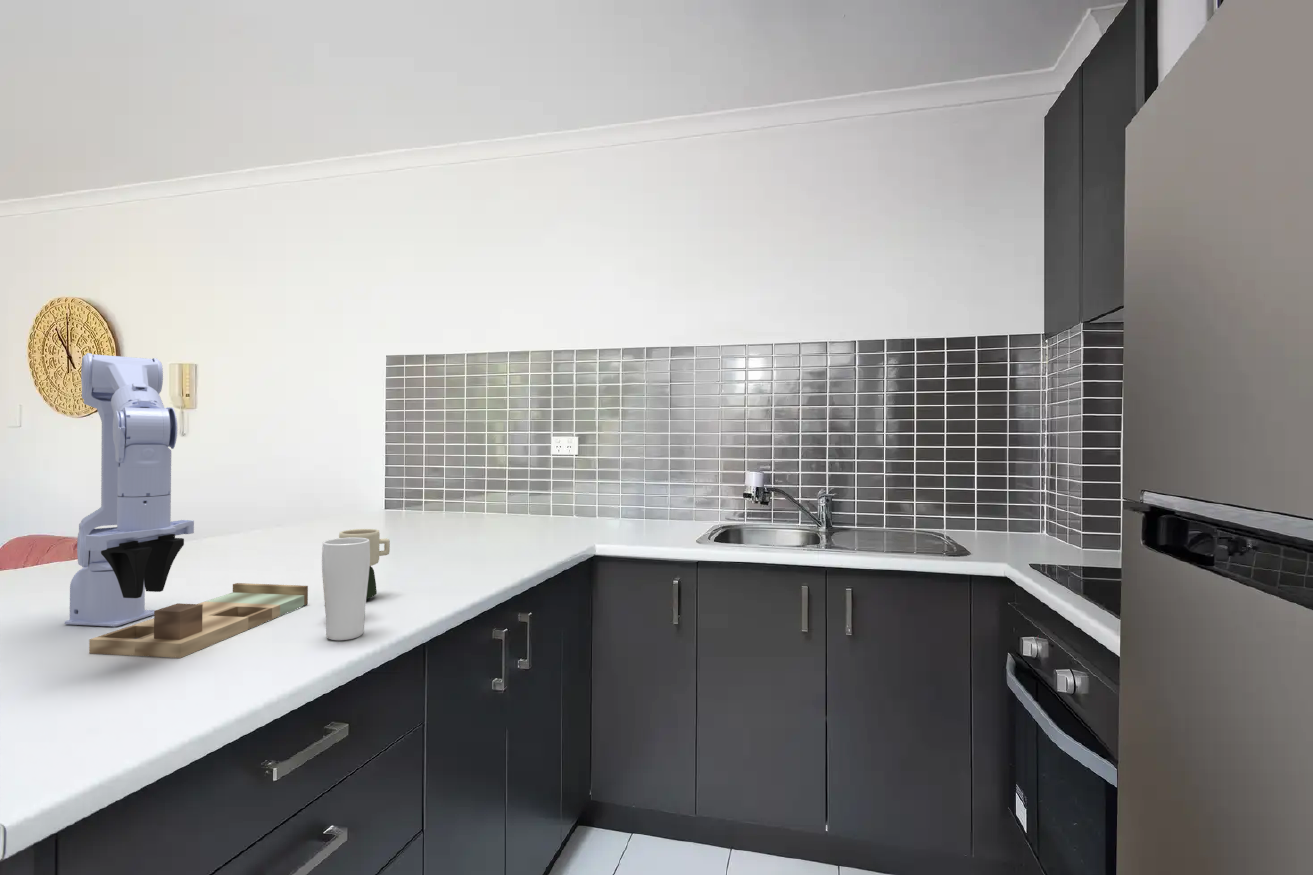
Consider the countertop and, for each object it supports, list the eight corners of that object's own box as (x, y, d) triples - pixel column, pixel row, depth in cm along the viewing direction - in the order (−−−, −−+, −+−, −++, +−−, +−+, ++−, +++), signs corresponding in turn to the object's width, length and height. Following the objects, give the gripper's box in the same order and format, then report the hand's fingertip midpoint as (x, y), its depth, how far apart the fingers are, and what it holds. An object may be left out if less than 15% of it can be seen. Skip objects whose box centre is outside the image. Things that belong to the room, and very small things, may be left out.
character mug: (384, 591, 127) (385, 526, 127) (393, 599, 122) (394, 531, 121) (324, 599, 121) (324, 531, 121) (330, 607, 115) (331, 536, 115)
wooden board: (89, 653, 90) (89, 628, 90) (236, 601, 118) (236, 583, 118) (180, 657, 89) (180, 633, 89) (307, 604, 117) (307, 585, 117)
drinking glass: (378, 632, 101) (379, 538, 101) (345, 645, 95) (346, 545, 95) (345, 627, 104) (346, 536, 104) (310, 640, 97) (311, 542, 97)
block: (153, 638, 91) (154, 610, 91) (177, 630, 95) (177, 603, 95) (179, 639, 91) (180, 611, 91) (202, 631, 95) (202, 604, 95)
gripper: (122, 501, 79) (121, 609, 79) (213, 491, 94) (212, 582, 94) (70, 500, 80) (69, 607, 80) (169, 490, 94) (168, 581, 94)
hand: (143, 594), depth 87 cm, fingers open, 3 cm apart
